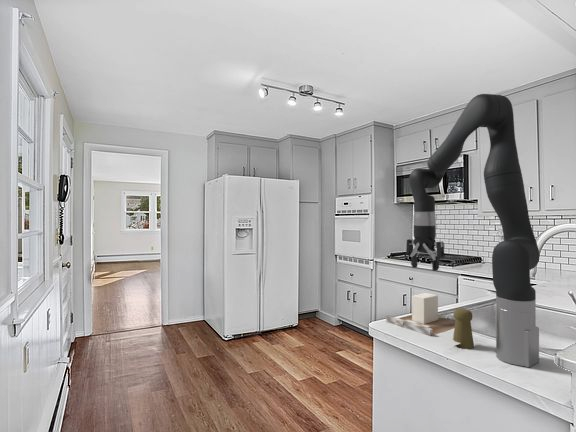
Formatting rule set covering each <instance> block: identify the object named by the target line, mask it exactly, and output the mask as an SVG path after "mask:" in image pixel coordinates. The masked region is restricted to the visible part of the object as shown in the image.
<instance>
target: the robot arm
mask: <svg viewBox="0 0 576 432" xmlns="http://www.w3.org/2000/svg"><path fill="white" fill-rule="evenodd" d="M513 109H514V108H513V105H512V102H511V100H510V99H509V98H508V97H507V96H505V95H501V94H492V93H479V94H477V95H476V96H474V97H473V98H471V100H470V101H469V102H468V103H467V105H466V106H465V108H464V109H463V110H462V113H461V114H460V116H459V117H458V119H457V120H456V123H455V124H454V125H453V127H452V129H451V130H450V131H449V133H448V135H447V136H446V138H445V139H444V140H443V142H441V144H440V145H439V147H438V148H437V149H436V150H435V151H434V152H433V153H432V154H431V156H430V157H429V158H428V159H427V163H426V164H427V167H428V168H414V169H413V170H412V171H411V172H410V174H409V180H408V182H409V187H410V190H411V194H412V198H413V201H414V202H413V209H414V210H413V211H414V212H413V221H412V222H413V238H414V239H413V238H409V239H407V240H406V251H405V254H406V256H409V257H410V265H411V268H413V269H417V268H418V256H419V254H420V253H425V254H428V256H430V257H431V259H432V260H431V261H432V262H431V263H432V266H431V269H432V272H433V271H434V272H438V270H439V269H440V265H439V264H440V260H442V259H445V243H444V241H442V240H441V241H436V235H437V234H436V231H437V230H436V229H437V226H436V225H437V223H436V222H437V219H436V218H437V217H436V199H435V197H434V196H433V195H430V194H428V193H427V190H426V189H433V188H436V187H437V186H438V185H439V184H440V183H441V182H442V180H443V178H444V176H445V175H446V172H447V171H448V170H449V169H450V167H451V166H453V164H454V163H455V162H457V160H458V159H459V157H460V156H461V153H462V152H463V148H464V144H465V142H466V140H467V139H468V137H469V136H470V135H471V134H473V133H474V132H475V131H476V130H478V129H479V128H486V129H487V131H488V137H489V141H490V142H489V143H490V145H489V153H488V156H487V159H486V162H485V165H484V170H483V179H484V180H483V181H484V186H485V191H486V192H485V193H486V195H487V198H488V201H489V203H490V204H491V206H492V208H493V210H494V211H495V214H496V215H497V217H498V219H499V221H500V225H501V227H502V228H501V229H502V235H503V240H502V241H500V242H497V244H496V245H495V246H494V248H493V251H492V255H491V268H492V270H491V273H492V283H493V286H494V289H495V305H496V306H495V342H496V343H495V345H496V347H495V350H496V351H495V353H496V358H497V359H499V360H500V361H502V362H505V363H507V364H510V365H516V366H522V367H527V368H530V367H532V366H535V365H536V364H538V363H539V362H540V328H539V326H536V323H537V321H536V318H537V316H536V314H537V312H536V311H537V309H536V307H537V306H536V298H537V295H536V292H537V291H536V290H535V288H534V287H533V286H532V284H531V270H533V269H535V267H536V266H538V264H539V262H540V257H541V256H540V255H541V254H540V249H539V246H538V243H537V240H536V237H535V235H534V231H533V227H532V225H531V219H530V214H529V208H528V203H527V197H526V191H525V184H524V179H523V174H522V168H521V165H520V160H519V154H518V148H517V142H516V136H515V135H516V134H515V121H514V118H515V117H514V110H513ZM414 246H415V247H414Z"/></svg>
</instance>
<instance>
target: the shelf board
mask: <svg viewBox="0 0 576 432" xmlns="http://www.w3.org/2000/svg"><path fill="white" fill-rule="evenodd" d="M385 319H386V320H385V322H386V323H389V324H392V325H395V326H398V327H401V328H405V329H407V330H410V331H414V332H417V333H419V334H422V335H426V336H428V337H432V336H434V335H438V334H441V333H444V332H447V331H450V330H453V329H454V328H455V321H456V320H451V319H448V318H445V317H441V316H438V320H436V321H433V322H429V323H426V324H422V323H419V322H416V321H412V314H410V315H407V316H402V317H398V318H397V317H395V316H392V315H386V318H385Z"/></svg>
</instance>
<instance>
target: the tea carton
mask: <svg viewBox="0 0 576 432" xmlns="http://www.w3.org/2000/svg"><path fill="white" fill-rule="evenodd" d="M411 315H412V321H416V322H419V323H422V324H426V323H429V322H433V321H436V320H438V317H439V295H438V294H433V293H429V292H423V293H418V294H415V295H414V294H413V295H411Z"/></svg>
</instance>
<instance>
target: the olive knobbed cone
mask: <svg viewBox="0 0 576 432" xmlns="http://www.w3.org/2000/svg"><path fill="white" fill-rule="evenodd" d="M453 318H454V319H455V320H454V321H455V328H454V331H453V336H452V337H453V338H452V340H453V341H454V342H456V343H458V344H456V345H454V347H456V348H459V349H464V350H470V349H471V350H472V349H474V348H475V343H474V336H473V330H472V323H471V322H472V320H473V312H472V311H471V310H470V309H466V308H456V309H455V310H454V311H453Z"/></svg>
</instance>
